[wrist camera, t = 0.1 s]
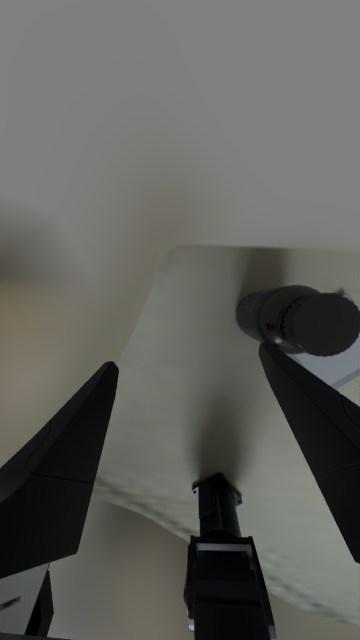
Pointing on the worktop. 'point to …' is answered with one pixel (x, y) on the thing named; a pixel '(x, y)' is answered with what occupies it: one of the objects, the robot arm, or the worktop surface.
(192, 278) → the worktop surface
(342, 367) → the plate
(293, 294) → the supplement bottle
